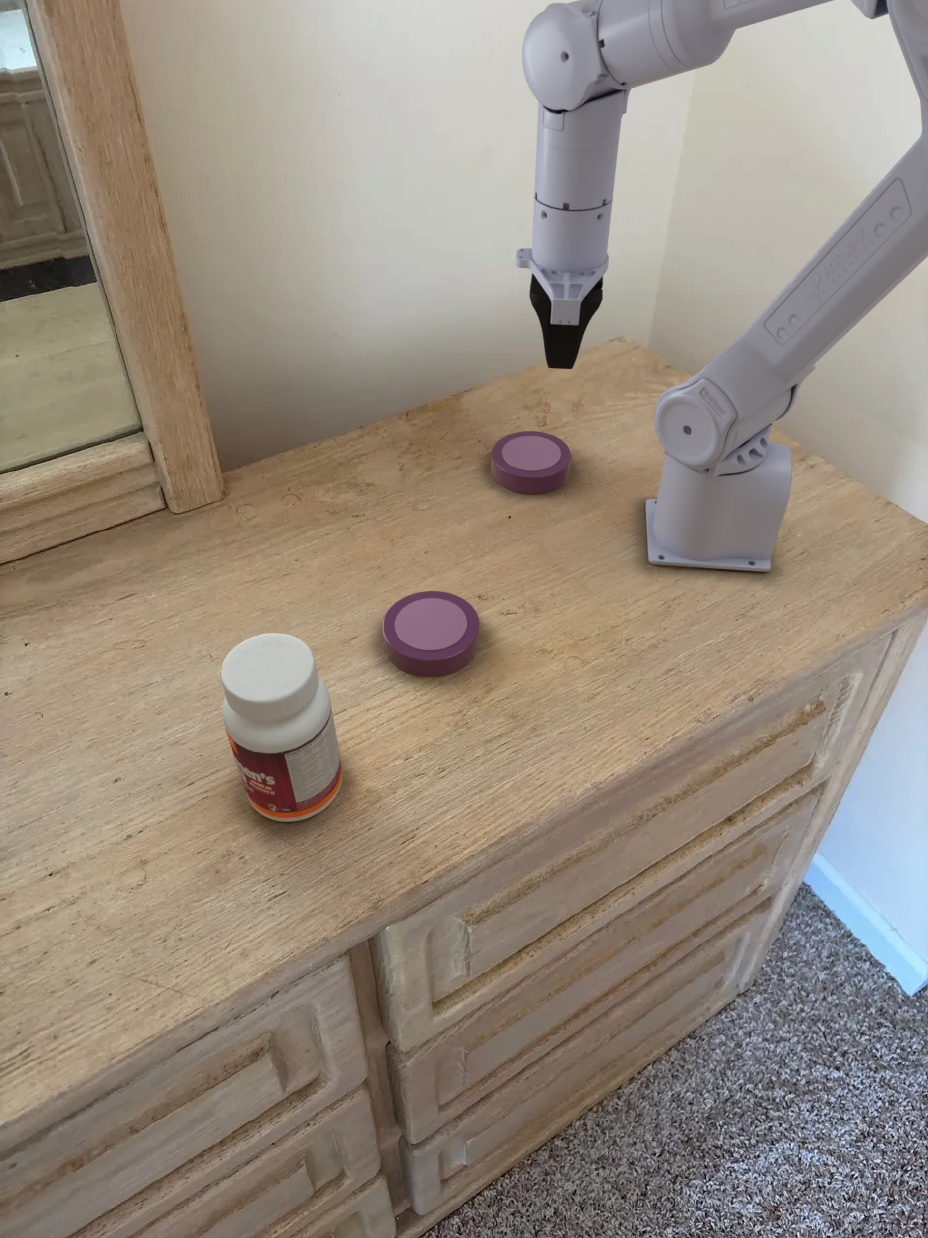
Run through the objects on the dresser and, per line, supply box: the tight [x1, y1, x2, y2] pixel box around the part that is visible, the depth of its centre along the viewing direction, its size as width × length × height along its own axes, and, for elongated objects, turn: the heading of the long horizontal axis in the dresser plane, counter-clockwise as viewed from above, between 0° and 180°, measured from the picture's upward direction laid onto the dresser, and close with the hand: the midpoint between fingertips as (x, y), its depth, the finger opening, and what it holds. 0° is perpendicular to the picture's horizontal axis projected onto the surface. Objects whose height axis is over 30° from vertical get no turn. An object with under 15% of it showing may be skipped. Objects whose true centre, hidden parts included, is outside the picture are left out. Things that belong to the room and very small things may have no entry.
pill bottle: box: [220, 632, 343, 823], centre depth 53 cm, size 6×6×11 cm
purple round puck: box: [490, 430, 572, 495], centre depth 80 cm, size 7×7×2 cm
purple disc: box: [381, 590, 481, 678], centre depth 65 cm, size 7×7×2 cm
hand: (560, 364), depth 75 cm, fingers closed
